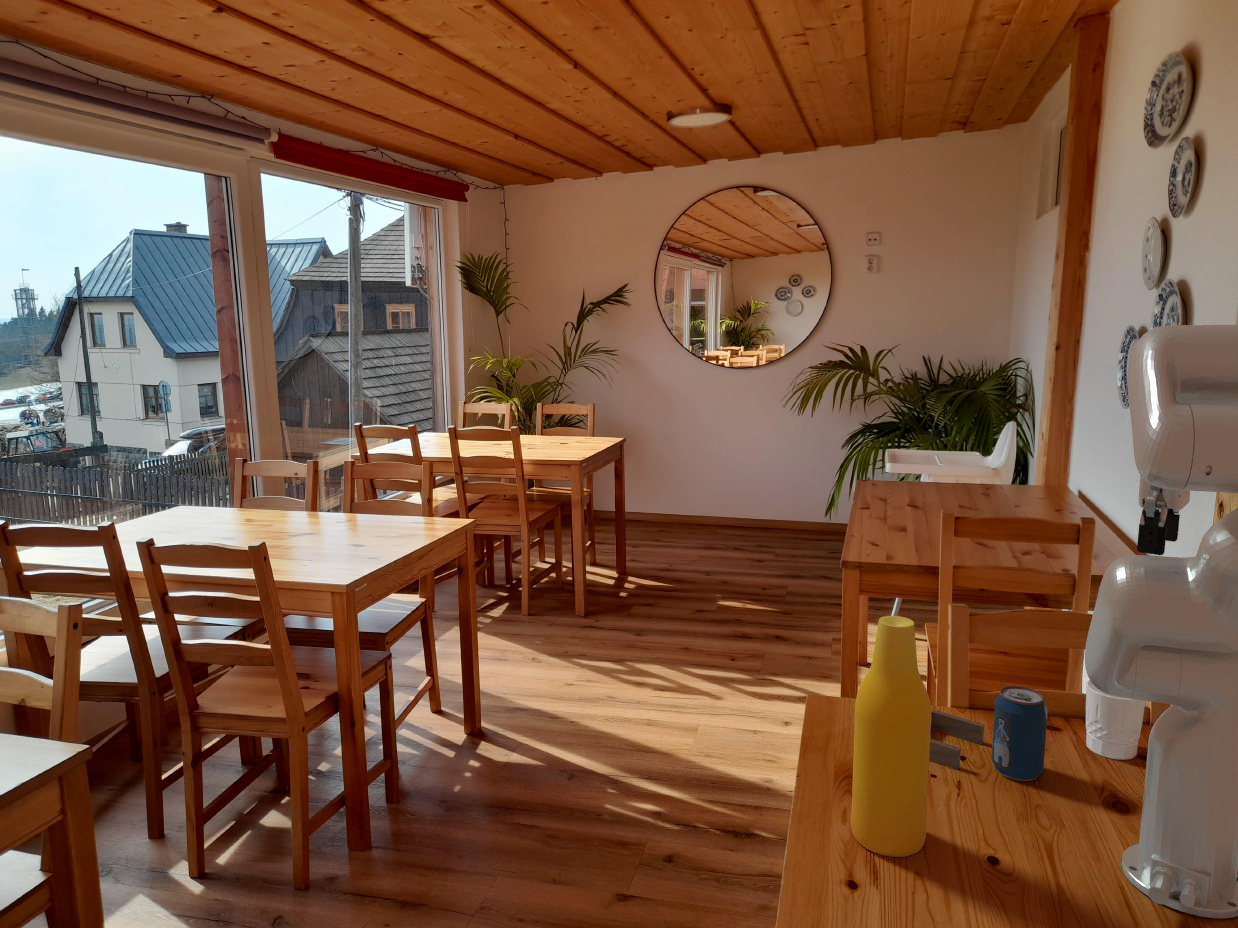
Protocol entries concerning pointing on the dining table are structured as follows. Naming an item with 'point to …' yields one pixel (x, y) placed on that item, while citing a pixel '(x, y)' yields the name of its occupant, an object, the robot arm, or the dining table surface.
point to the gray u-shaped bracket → (952, 727)
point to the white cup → (1112, 724)
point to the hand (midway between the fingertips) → (1157, 546)
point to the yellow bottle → (891, 746)
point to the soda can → (1019, 733)
